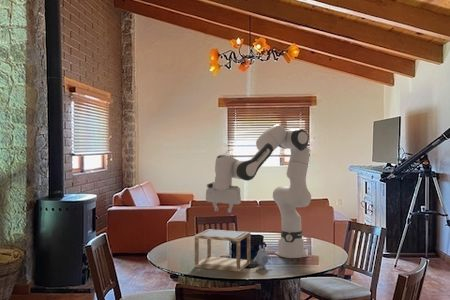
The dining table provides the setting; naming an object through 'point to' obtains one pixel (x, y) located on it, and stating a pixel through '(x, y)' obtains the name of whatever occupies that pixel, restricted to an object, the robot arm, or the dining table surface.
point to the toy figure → (262, 257)
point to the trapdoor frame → (218, 261)
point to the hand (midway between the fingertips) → (222, 211)
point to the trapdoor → (223, 234)
